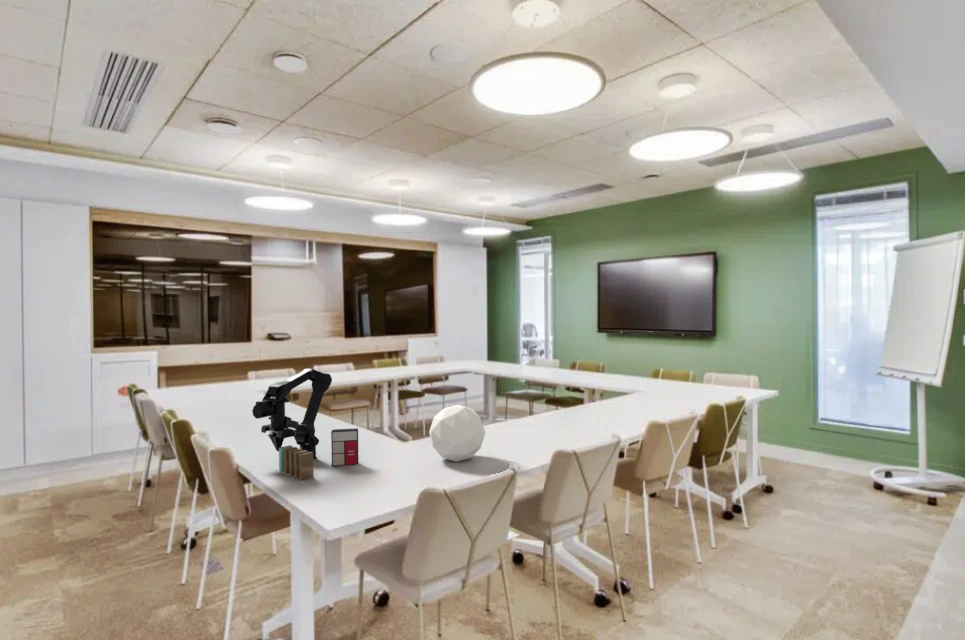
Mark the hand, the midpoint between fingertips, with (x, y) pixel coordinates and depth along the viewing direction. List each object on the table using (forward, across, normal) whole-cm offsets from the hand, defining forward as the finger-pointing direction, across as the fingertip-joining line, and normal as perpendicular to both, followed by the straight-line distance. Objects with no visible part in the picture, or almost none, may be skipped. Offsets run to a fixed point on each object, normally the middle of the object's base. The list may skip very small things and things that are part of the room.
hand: (278, 451), depth 223 cm
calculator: (+7, -18, -21) cm, 28 cm away
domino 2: (+7, -10, 0) cm, 13 cm away
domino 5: (+7, -22, 0) cm, 24 cm away
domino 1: (+7, -6, 0) cm, 10 cm away
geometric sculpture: (+7, -49, -58) cm, 76 cm away
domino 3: (+7, -14, 0) cm, 16 cm away
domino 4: (+7, -18, 0) cm, 20 cm away
